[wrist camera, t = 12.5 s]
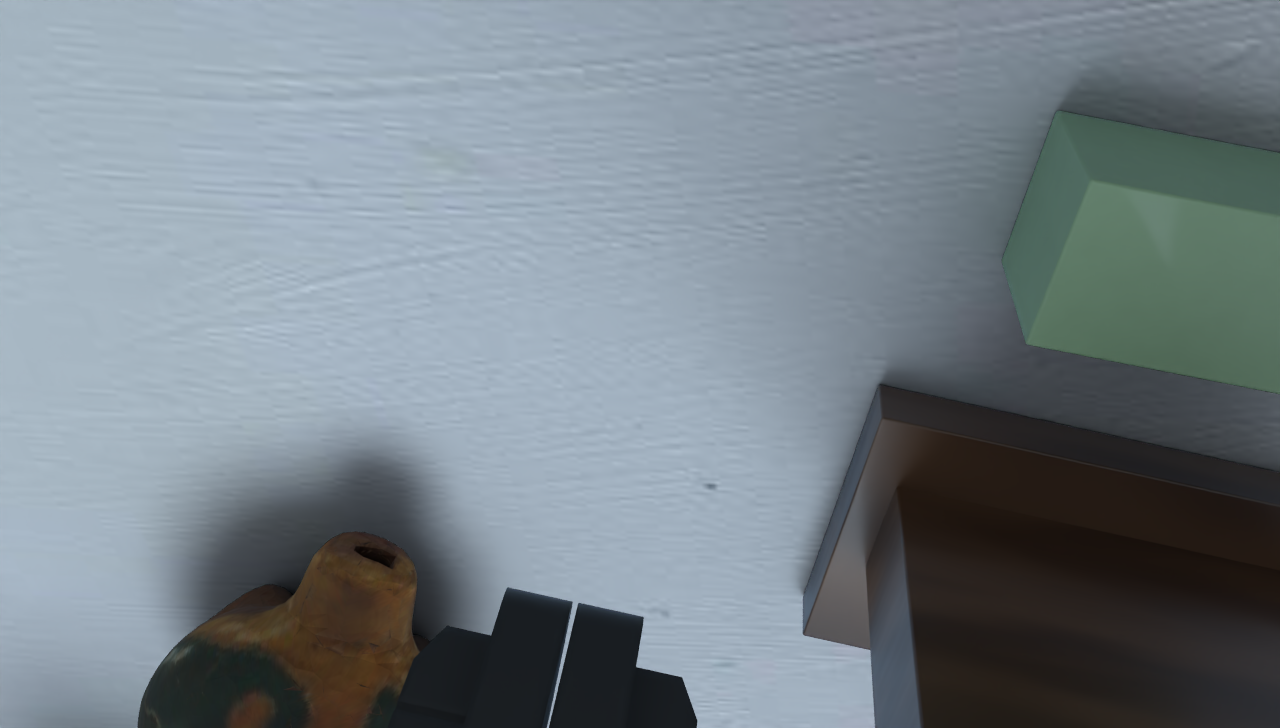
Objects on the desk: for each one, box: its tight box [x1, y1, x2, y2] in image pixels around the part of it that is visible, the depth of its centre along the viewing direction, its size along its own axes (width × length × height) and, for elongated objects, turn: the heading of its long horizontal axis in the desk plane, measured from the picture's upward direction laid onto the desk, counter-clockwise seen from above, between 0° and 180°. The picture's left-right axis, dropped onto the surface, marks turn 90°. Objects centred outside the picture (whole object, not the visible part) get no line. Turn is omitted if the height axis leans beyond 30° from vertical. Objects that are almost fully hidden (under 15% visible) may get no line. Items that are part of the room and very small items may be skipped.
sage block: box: [1002, 111, 1280, 394], centre depth 26 cm, size 4×10×4 cm, turn 81°
